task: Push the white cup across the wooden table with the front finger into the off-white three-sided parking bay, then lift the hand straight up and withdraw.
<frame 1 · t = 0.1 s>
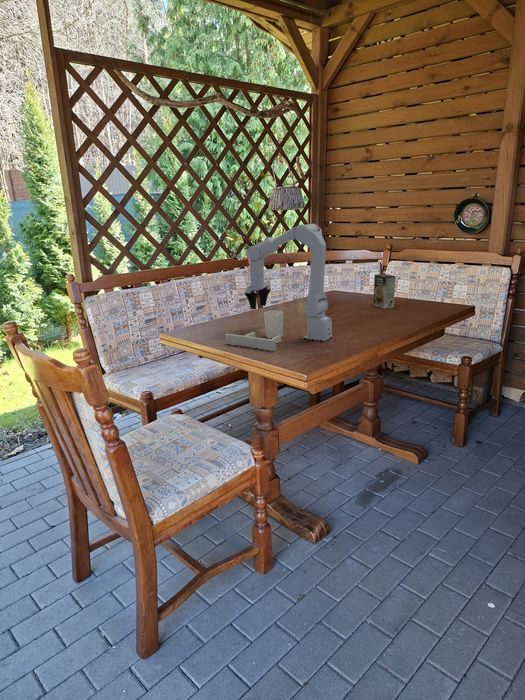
hand: (258, 307, 200), 10 cm above the table, tool pointing down, fingers open, 7 cm apart
coffee box: (383, 307, 241), on the table
white cup: (274, 337, 192), on the table
parking bay: (259, 343, 183), on the table
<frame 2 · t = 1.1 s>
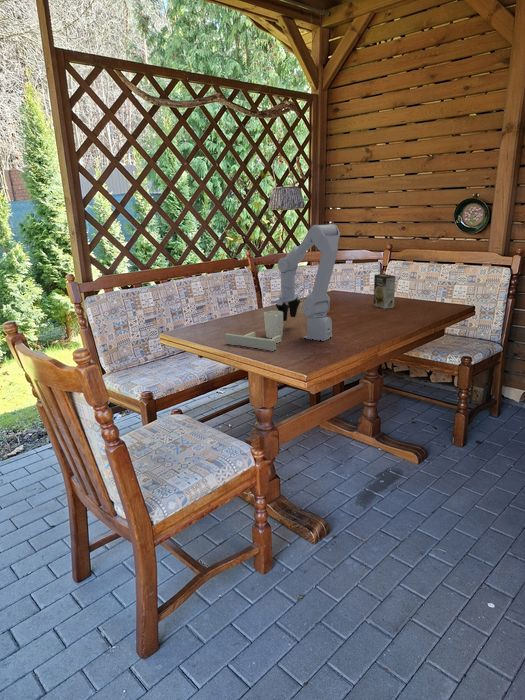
hand: (288, 318, 200), 5 cm above the table, tool pointing down, fingers open, 7 cm apart
nothing on the table moved.
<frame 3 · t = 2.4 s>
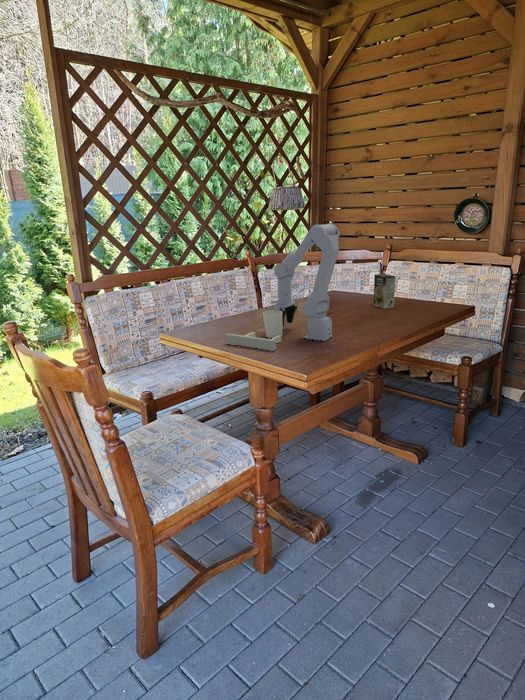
hand: (285, 324, 199), 3 cm above the table, tool pointing down, fingers open, 7 cm apart
white cup: (274, 336, 192), on the table, touching gripper
everything else where it was.
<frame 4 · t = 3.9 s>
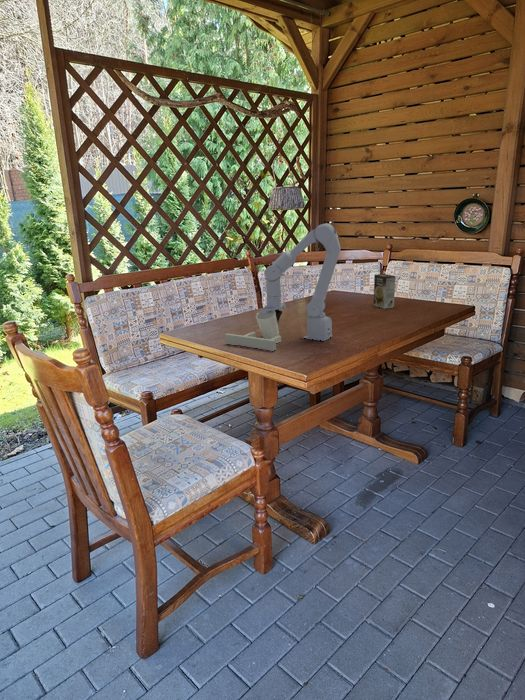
hand: (274, 328, 192), 3 cm above the table, tool pointing down, fingers closed, pressing on white cup
white cup: (271, 335, 190), point 1 cm above the table, touching gripper
everything else where it was.
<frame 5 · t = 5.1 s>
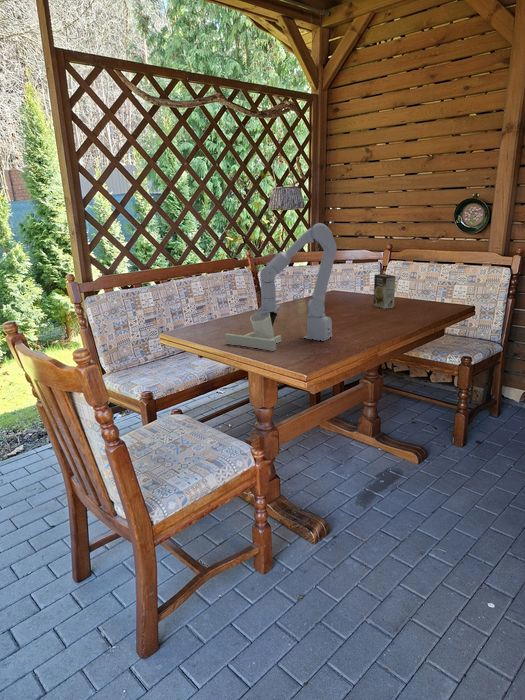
hand: (269, 330, 189), 3 cm above the table, tool pointing down, fingers closed, pressing on white cup
white cup: (265, 338, 187), point 1 cm above the table, touching gripper
everything else where it was.
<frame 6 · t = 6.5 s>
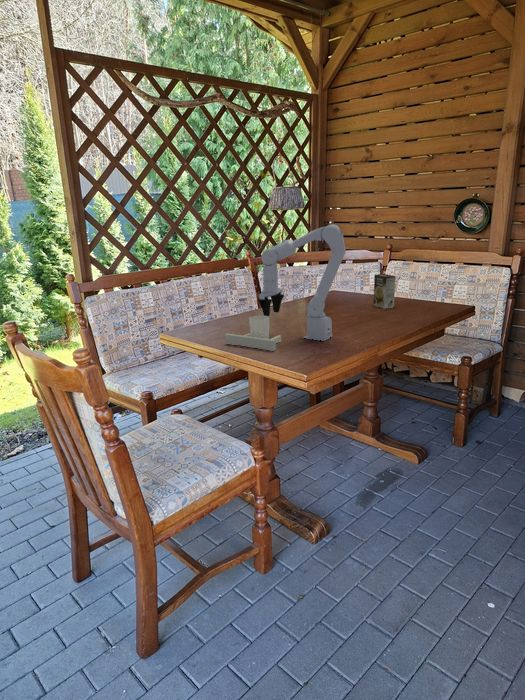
hand: (271, 314, 190), 9 cm above the table, tool pointing down, fingers open, 7 cm apart
white cup: (260, 343, 184), on the table
everything else where it was.
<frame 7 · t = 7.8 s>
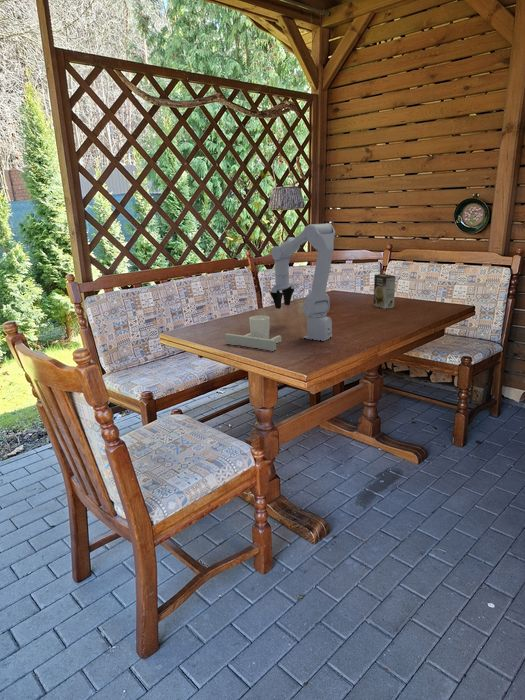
hand: (282, 306, 203), 9 cm above the table, tool pointing down, fingers open, 7 cm apart
nothing on the table moved.
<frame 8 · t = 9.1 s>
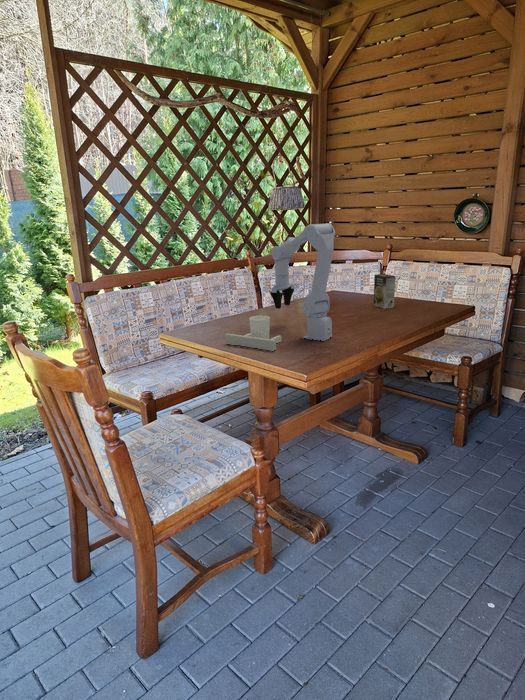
hand: (282, 306, 203), 9 cm above the table, tool pointing down, fingers open, 7 cm apart
nothing on the table moved.
at the end: white cup inside the target area (1.9 cm from its centre), on the table; white cup tilted 0°; the gripper is holding nothing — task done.
